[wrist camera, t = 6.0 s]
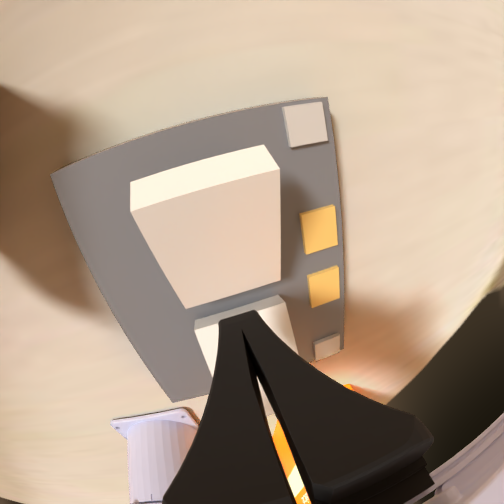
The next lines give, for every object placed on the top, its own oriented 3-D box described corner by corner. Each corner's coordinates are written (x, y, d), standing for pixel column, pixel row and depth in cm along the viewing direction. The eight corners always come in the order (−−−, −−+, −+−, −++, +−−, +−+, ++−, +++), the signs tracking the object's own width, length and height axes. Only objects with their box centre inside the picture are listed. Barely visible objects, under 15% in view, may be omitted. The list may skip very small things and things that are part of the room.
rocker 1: (270, 256, 16) (280, 280, 15) (180, 283, 15) (185, 309, 14) (263, 144, 10) (280, 168, 9) (130, 182, 10) (130, 211, 9)
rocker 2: (302, 388, 18) (309, 401, 16) (231, 411, 17) (233, 425, 16) (278, 294, 17) (285, 302, 15) (195, 320, 16) (194, 330, 15)
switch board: (334, 336, 23) (350, 358, 21) (171, 387, 21) (173, 414, 19) (313, 97, 14) (339, 97, 12) (61, 168, 13) (40, 180, 10)
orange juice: (350, 383, 28) (439, 532, 10) (329, 424, 32) (393, 548, 14) (280, 399, 26) (358, 579, 8) (270, 438, 30) (325, 579, 12)
